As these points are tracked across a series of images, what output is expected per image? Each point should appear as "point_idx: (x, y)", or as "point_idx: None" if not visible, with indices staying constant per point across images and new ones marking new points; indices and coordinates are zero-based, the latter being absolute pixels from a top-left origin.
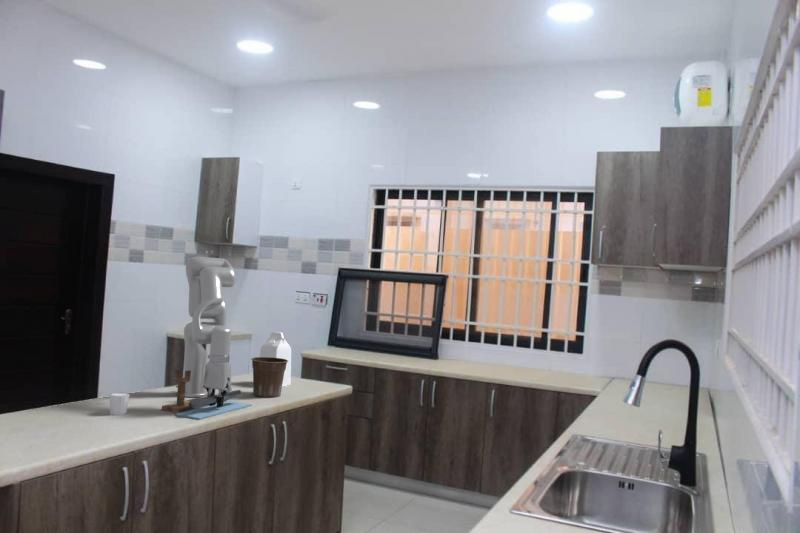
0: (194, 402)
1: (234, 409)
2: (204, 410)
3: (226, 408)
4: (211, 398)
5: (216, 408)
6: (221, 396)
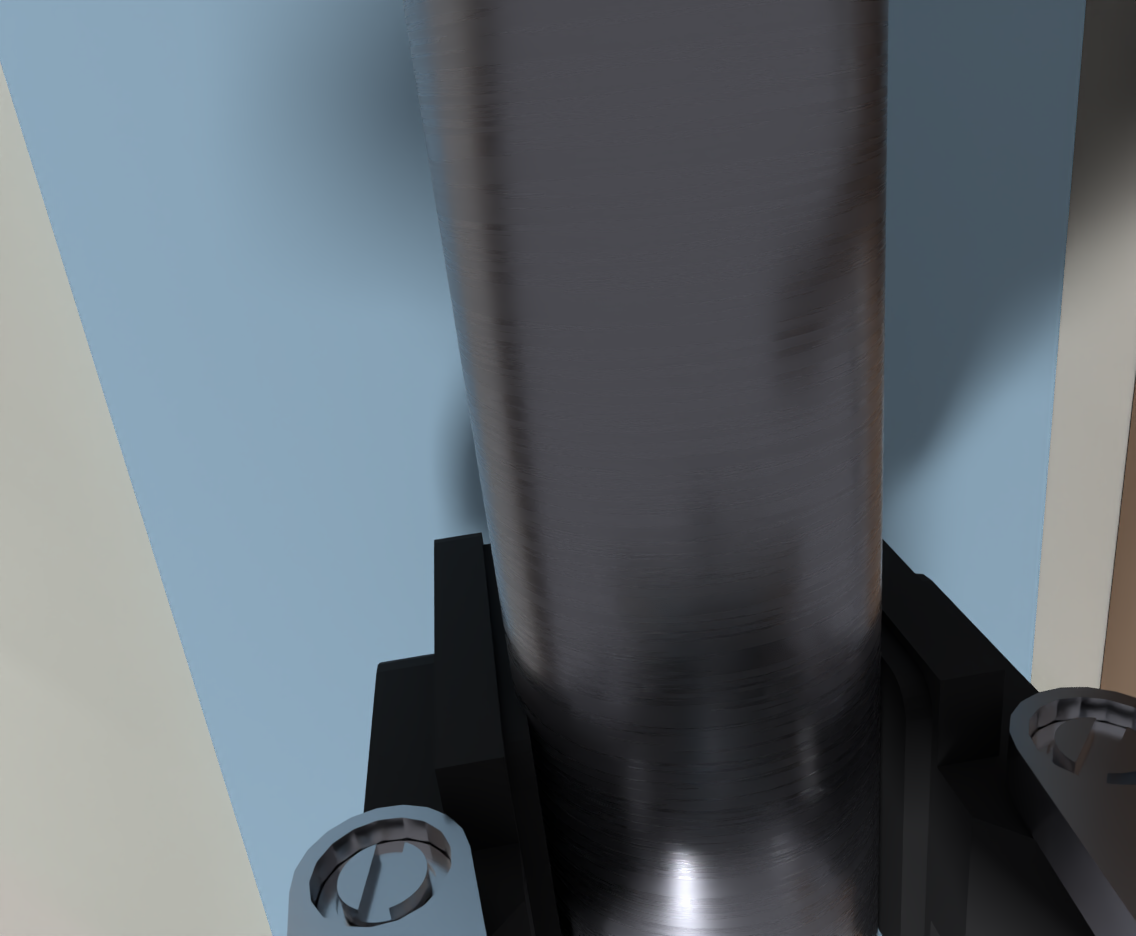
0: None
1: (269, 910)
2: None
3: None
4: (505, 338)
5: None
6: (315, 888)
